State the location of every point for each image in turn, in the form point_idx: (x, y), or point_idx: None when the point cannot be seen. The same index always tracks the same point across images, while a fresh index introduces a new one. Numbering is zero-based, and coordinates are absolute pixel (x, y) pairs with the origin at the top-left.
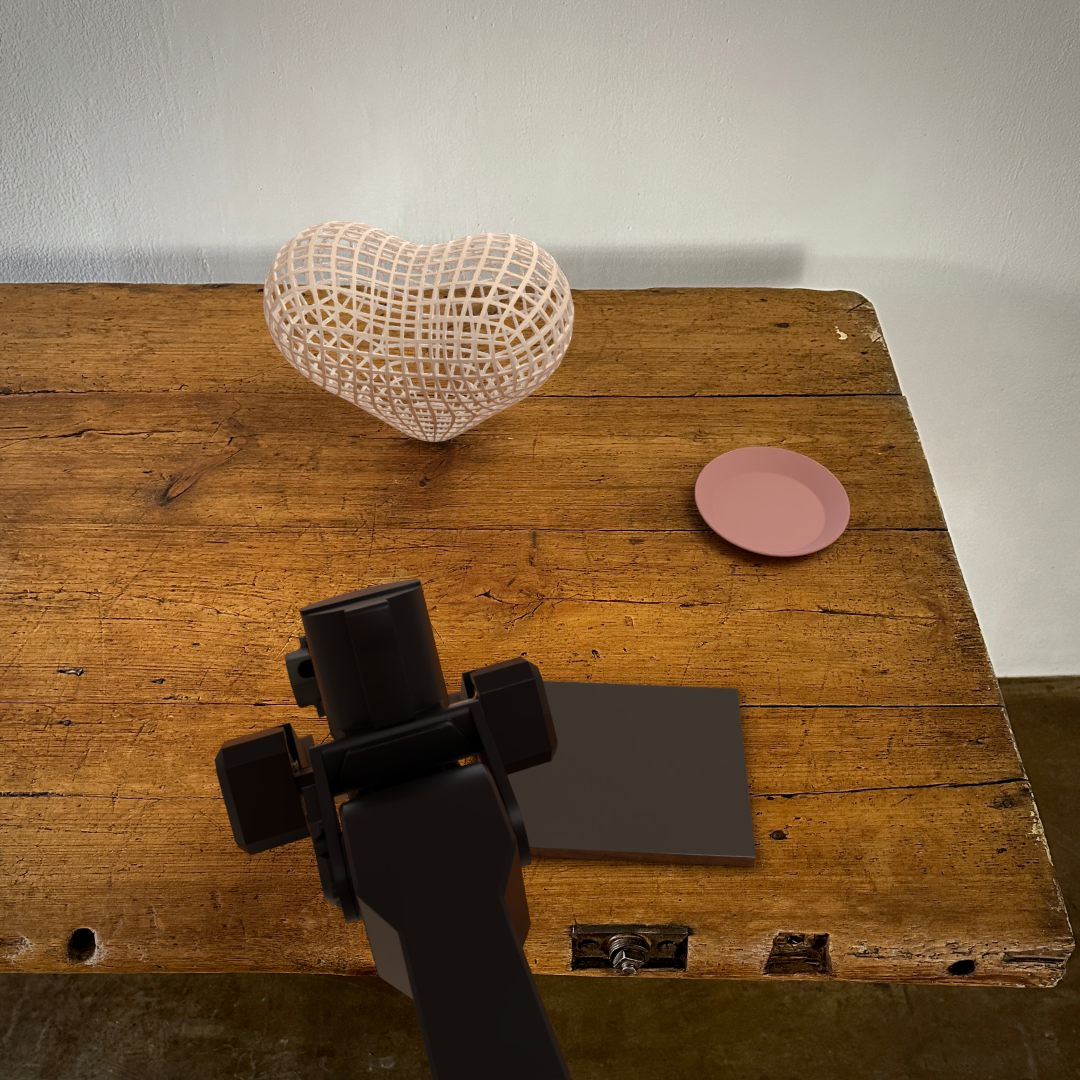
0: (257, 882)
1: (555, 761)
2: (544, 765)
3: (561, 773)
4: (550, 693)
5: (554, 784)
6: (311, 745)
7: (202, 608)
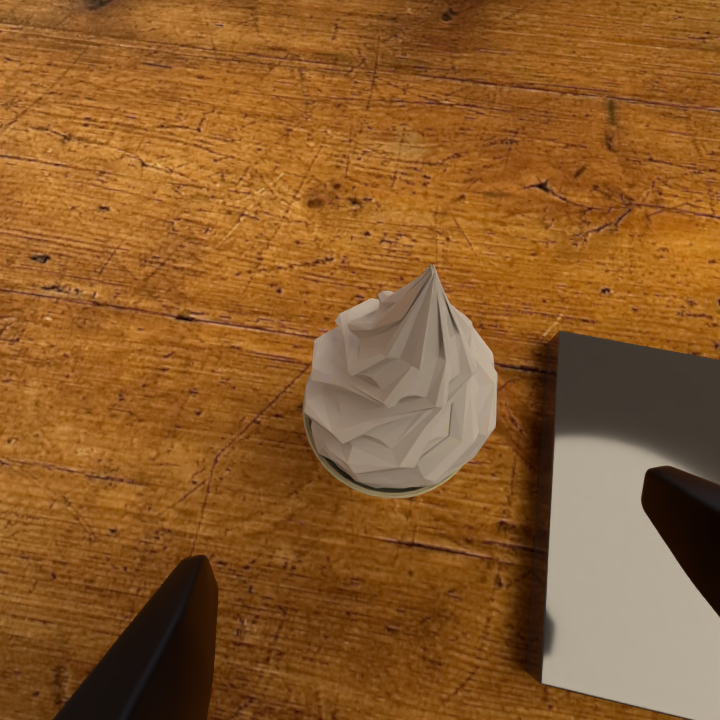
0: None
1: None
2: None
3: None
4: (676, 376)
5: None
6: (172, 685)
7: (121, 155)
